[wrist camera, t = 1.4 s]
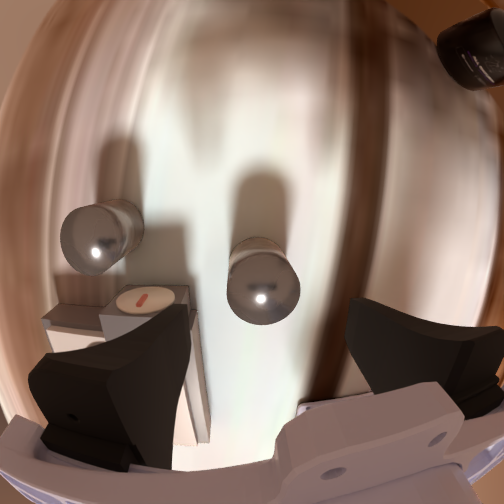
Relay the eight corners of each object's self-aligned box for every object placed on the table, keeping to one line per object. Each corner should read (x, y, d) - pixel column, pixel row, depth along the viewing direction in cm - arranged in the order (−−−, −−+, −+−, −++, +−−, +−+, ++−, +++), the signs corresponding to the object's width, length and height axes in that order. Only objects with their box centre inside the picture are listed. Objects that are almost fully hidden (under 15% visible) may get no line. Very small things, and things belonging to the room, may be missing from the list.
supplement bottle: (443, 83, 16) (541, 57, 5) (426, 24, 15) (504, -20, 3) (485, 98, 16) (570, 88, 5) (470, 44, 15) (543, 19, 3)
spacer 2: (286, 236, 19) (302, 256, 14) (284, 290, 20) (298, 323, 15) (228, 237, 19) (225, 257, 14) (229, 291, 20) (227, 325, 15)
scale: (194, 280, 20) (182, 312, 15) (211, 421, 24) (208, 459, 19) (52, 278, 19) (19, 300, 14) (96, 407, 23) (81, 438, 18)
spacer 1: (142, 197, 18) (112, 204, 13) (146, 252, 19) (120, 276, 14) (94, 201, 18) (57, 209, 13) (99, 253, 19) (65, 275, 14)
